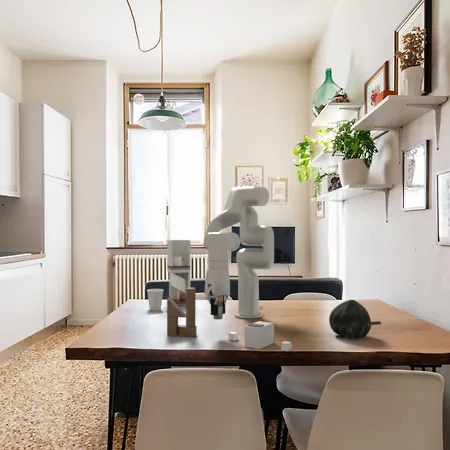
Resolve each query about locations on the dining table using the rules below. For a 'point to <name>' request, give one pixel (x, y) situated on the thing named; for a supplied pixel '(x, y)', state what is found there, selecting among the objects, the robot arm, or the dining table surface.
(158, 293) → the dixie cup
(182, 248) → the display case
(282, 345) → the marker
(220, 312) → the peg
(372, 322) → the bracket
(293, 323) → the dining table surface
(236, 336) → the rounded white cube
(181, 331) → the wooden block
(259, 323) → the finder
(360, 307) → the squash
